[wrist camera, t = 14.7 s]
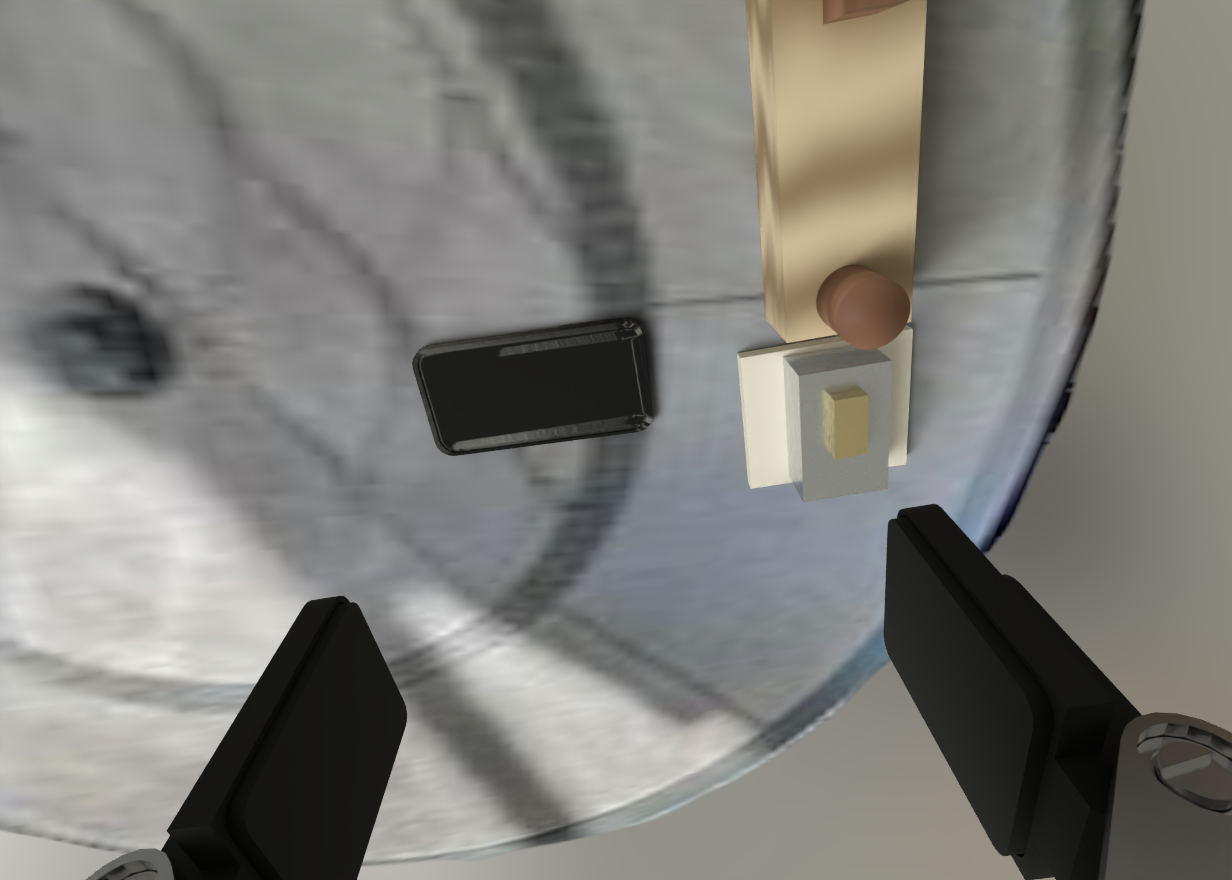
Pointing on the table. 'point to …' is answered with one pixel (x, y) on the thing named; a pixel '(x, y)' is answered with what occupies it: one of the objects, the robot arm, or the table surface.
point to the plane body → (837, 163)
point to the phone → (535, 387)
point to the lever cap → (837, 421)
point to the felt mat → (768, 410)
